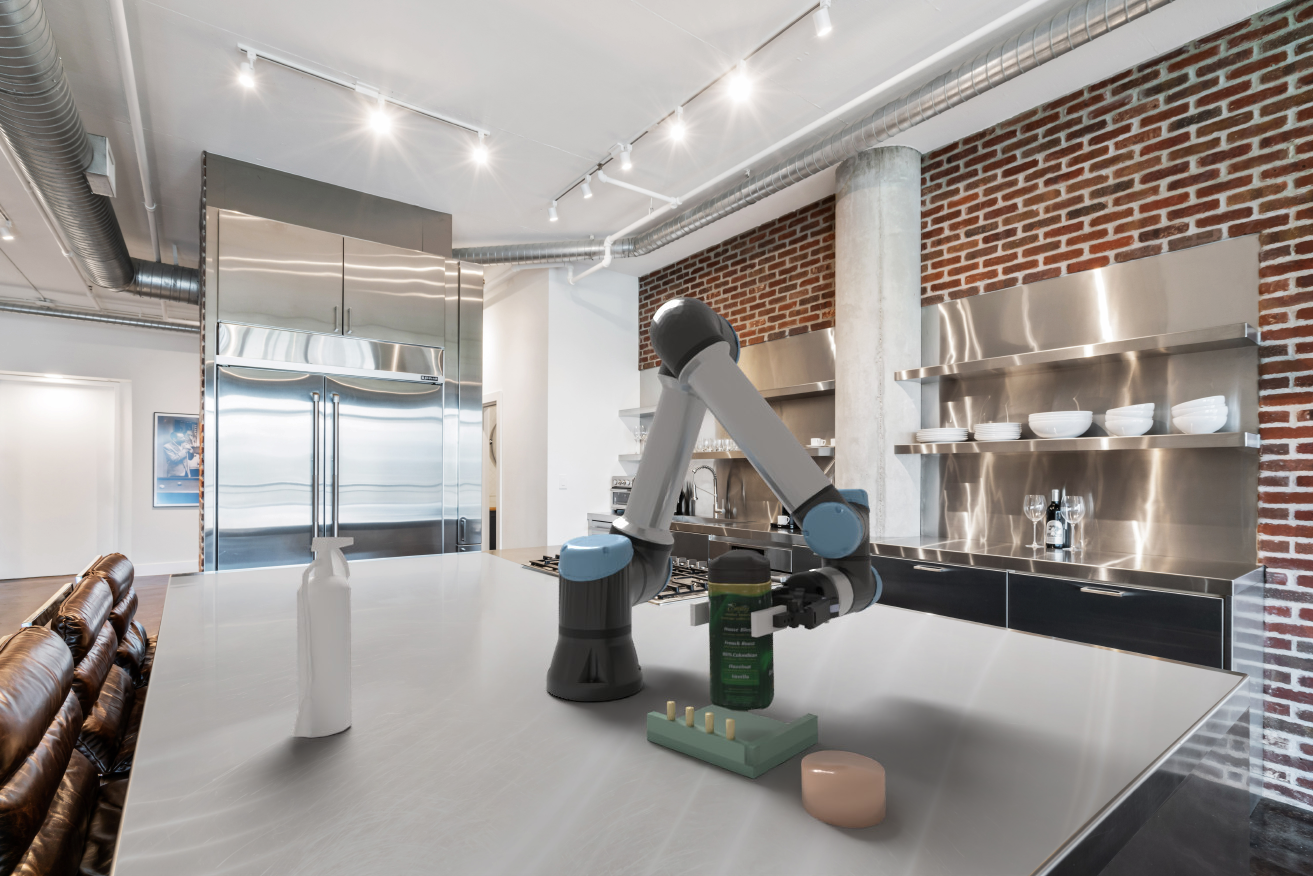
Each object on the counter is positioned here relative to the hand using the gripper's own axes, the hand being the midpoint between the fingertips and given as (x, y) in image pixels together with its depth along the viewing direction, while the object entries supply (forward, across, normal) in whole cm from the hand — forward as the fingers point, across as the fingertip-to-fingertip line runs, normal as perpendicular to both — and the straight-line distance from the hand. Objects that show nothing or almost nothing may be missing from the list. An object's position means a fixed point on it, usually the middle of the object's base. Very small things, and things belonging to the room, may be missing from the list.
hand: (722, 619), depth 79 cm
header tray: (-3, +1, -16) cm, 16 cm away
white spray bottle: (+30, +42, -15) cm, 54 cm away
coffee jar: (-4, 0, -11) cm, 11 cm away
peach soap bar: (+3, -17, -16) cm, 23 cm away
